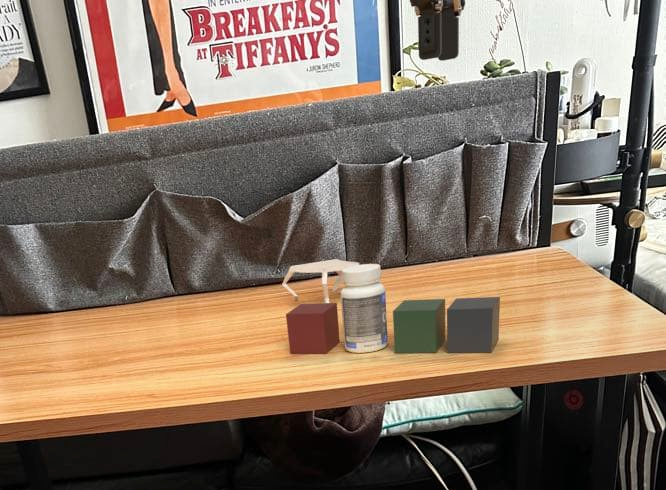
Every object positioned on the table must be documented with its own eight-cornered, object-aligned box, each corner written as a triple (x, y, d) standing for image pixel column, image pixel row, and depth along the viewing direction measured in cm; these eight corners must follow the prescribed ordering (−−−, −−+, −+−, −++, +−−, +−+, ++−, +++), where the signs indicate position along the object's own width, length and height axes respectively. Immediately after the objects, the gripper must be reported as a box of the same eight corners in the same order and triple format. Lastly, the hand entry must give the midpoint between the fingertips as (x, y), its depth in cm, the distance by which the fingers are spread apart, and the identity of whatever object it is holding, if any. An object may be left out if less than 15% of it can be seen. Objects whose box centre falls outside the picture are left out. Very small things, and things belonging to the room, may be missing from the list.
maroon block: (339, 341, 83) (336, 302, 80) (326, 353, 79) (323, 313, 77) (304, 342, 84) (300, 303, 82) (290, 353, 81) (285, 314, 79)
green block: (445, 340, 78) (445, 298, 75) (436, 353, 74) (435, 309, 72) (405, 341, 79) (403, 300, 77) (394, 353, 76) (392, 310, 74)
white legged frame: (368, 289, 105) (366, 253, 102) (363, 302, 98) (361, 264, 95) (287, 296, 107) (283, 262, 105) (277, 310, 100) (272, 273, 98)
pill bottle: (394, 348, 77) (390, 266, 73) (352, 356, 77) (346, 274, 73) (379, 338, 82) (375, 260, 77) (339, 346, 81) (333, 268, 77)
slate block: (498, 339, 75) (499, 296, 73) (491, 352, 72) (492, 307, 70) (455, 340, 77) (456, 298, 75) (446, 352, 74) (446, 309, 72)
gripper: (463, -172, 62) (461, 52, 70) (490, -137, 73) (487, 53, 81) (379, -146, 65) (387, 65, 74) (417, -116, 76) (420, 65, 84)
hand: (439, 59), depth 77 cm, fingers open, 8 cm apart
